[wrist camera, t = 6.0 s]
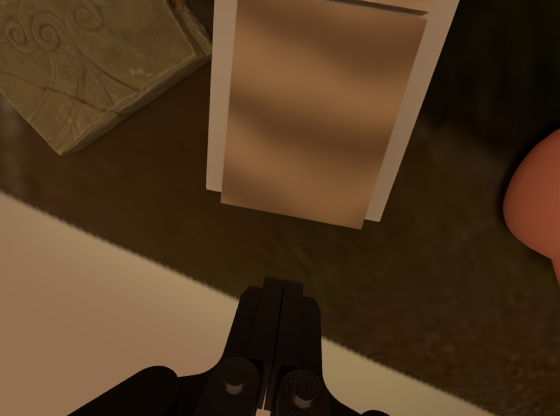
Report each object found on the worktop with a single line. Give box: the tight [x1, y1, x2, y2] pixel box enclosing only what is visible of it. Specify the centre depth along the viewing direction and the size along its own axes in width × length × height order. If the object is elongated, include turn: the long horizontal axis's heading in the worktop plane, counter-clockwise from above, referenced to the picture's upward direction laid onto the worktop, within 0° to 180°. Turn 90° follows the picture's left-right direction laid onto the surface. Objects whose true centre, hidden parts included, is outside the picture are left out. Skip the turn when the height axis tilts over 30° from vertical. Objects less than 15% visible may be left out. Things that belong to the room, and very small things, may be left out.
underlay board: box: [206, 0, 459, 222], centre depth 22 cm, size 22×16×2 cm
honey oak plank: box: [221, 0, 428, 229], centre depth 22 cm, size 15×12×2 cm
